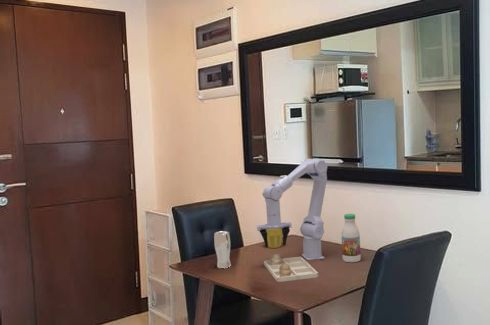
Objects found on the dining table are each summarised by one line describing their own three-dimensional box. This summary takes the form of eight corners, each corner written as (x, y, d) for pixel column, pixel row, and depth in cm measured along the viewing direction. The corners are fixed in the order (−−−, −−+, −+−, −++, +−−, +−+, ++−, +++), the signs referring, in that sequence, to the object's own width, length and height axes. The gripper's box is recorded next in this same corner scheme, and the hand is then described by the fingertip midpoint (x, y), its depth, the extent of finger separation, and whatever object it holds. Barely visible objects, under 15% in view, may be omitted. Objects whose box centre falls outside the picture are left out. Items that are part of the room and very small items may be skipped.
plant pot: (261, 245, 258) (259, 226, 257) (280, 242, 260) (279, 223, 259) (266, 250, 248) (265, 230, 247) (287, 247, 250) (286, 227, 249)
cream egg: (269, 265, 221) (269, 252, 221) (279, 264, 222) (279, 251, 221) (272, 268, 217) (271, 255, 216) (282, 267, 218) (281, 254, 217)
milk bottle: (340, 258, 226) (338, 213, 225) (357, 257, 227) (355, 212, 225) (345, 263, 219) (343, 217, 217) (363, 261, 219) (361, 215, 218)
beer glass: (234, 264, 228) (231, 231, 227) (228, 269, 221) (226, 234, 220) (219, 263, 230) (217, 230, 229) (213, 268, 224) (211, 234, 222)
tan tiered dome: (278, 276, 206) (277, 262, 205) (289, 275, 206) (288, 261, 206) (281, 279, 201) (280, 265, 201) (292, 278, 202) (291, 264, 201)
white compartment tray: (264, 265, 223) (263, 260, 223) (301, 261, 226) (301, 256, 226) (277, 283, 199) (277, 278, 199) (318, 278, 202) (318, 273, 201)
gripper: (258, 217, 212) (260, 250, 213) (292, 214, 215) (294, 246, 216) (255, 214, 219) (257, 245, 220) (288, 211, 221) (290, 242, 223)
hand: (275, 245), depth 219 cm, fingers open, 7 cm apart
